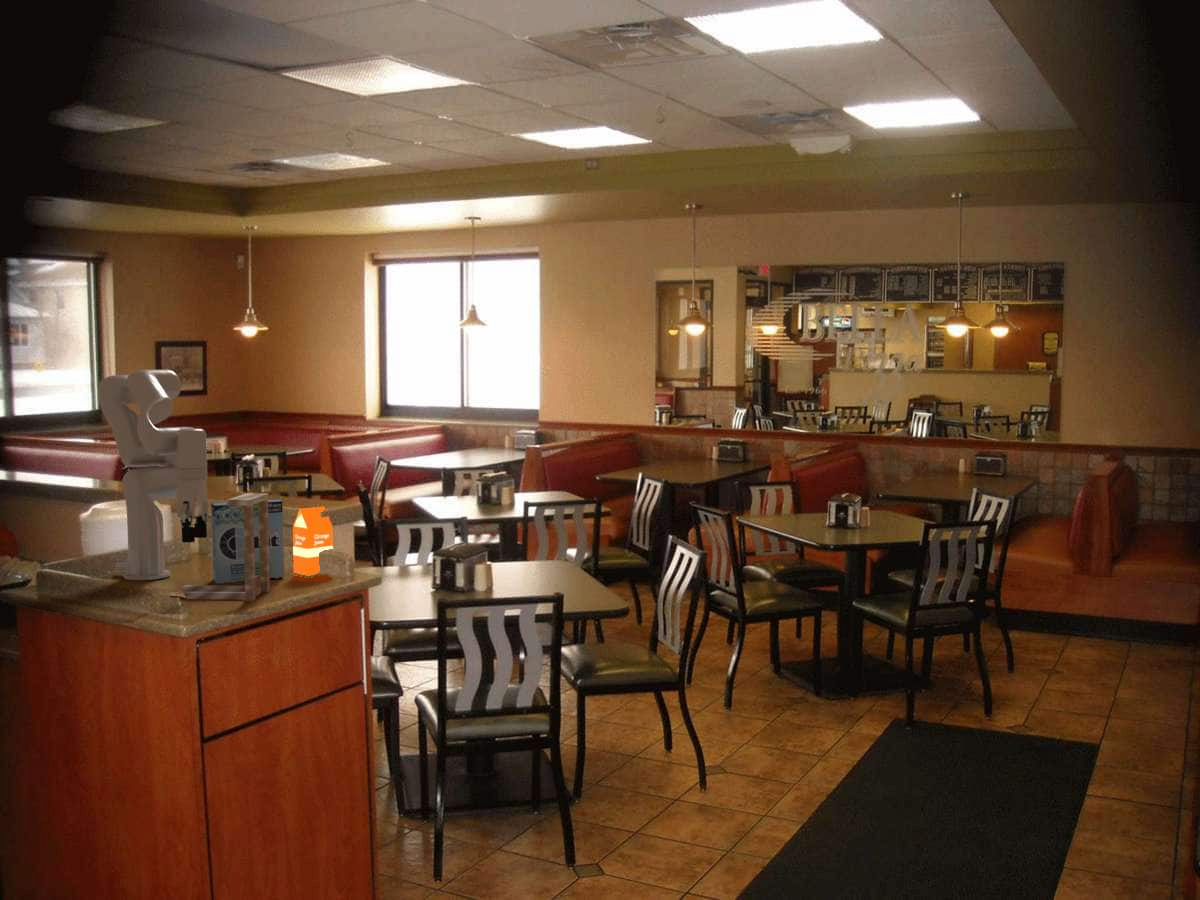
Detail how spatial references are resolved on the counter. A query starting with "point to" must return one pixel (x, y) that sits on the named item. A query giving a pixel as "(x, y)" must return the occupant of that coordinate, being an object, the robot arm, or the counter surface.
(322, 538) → the orange juice
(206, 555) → the counter surface
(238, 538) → the gum box
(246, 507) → the metal strip frame
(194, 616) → the counter surface
